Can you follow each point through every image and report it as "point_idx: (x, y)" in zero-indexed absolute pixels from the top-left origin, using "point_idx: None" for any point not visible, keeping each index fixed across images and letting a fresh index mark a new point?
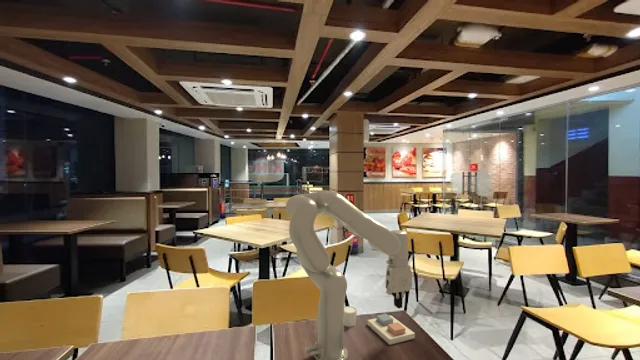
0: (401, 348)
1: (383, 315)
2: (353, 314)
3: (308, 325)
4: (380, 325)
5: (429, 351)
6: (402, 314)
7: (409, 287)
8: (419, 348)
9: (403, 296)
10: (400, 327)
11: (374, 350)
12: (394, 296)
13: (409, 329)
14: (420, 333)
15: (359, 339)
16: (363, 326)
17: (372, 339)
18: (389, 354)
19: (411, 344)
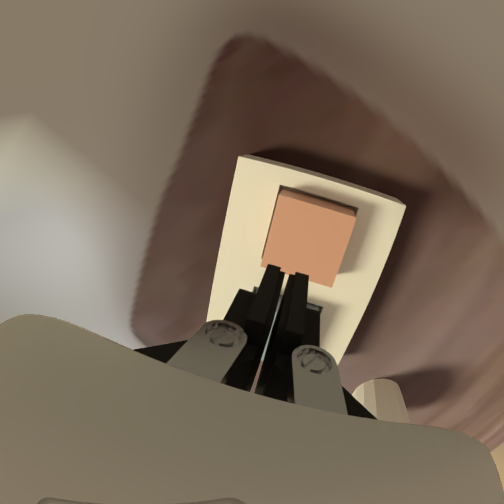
0: (359, 154)
1: (265, 352)
2: (393, 420)
3: None
4: (327, 317)
5: (264, 62)
6: (132, 317)
7: (41, 352)
8: (284, 101)
9: (209, 328)
10: (297, 218)
11: (460, 227)
12: (349, 394)
13: (231, 199)
14: (174, 180)
15: (435, 316)
16: (341, 366)
17: (400, 286)
18: (438, 165)
19: (289, 144)
